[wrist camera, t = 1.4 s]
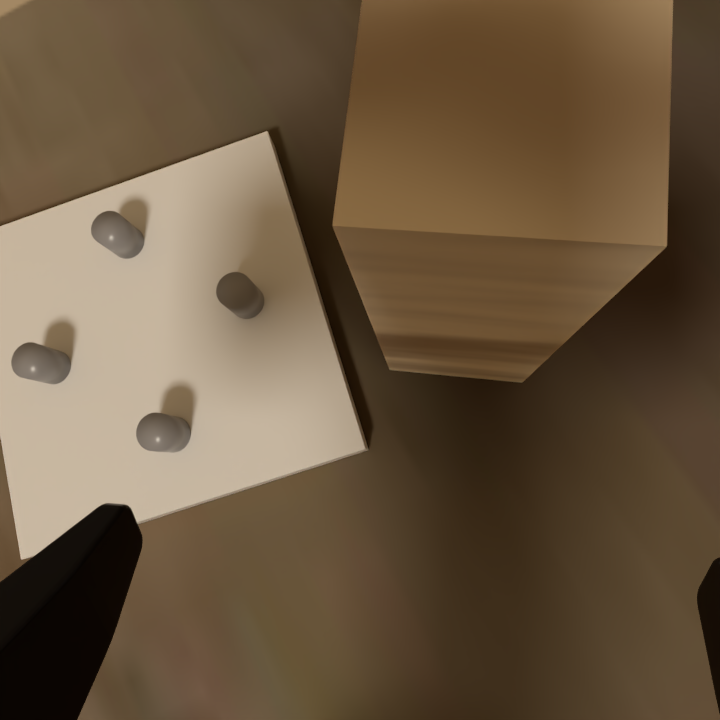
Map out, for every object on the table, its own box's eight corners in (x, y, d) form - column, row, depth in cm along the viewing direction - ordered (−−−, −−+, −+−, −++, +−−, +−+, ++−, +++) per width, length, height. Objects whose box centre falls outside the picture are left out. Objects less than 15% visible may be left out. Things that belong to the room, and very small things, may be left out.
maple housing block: (522, 382, 22) (666, 246, 9) (389, 370, 23) (332, 225, 9) (530, 256, 23) (674, -47, 10) (402, 247, 24) (367, -45, 10)
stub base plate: (368, 450, 23) (360, 447, 20) (41, 555, 23) (-10, 566, 21) (274, 146, 26) (256, 107, 23) (-13, 248, 26) (-64, 222, 24)
